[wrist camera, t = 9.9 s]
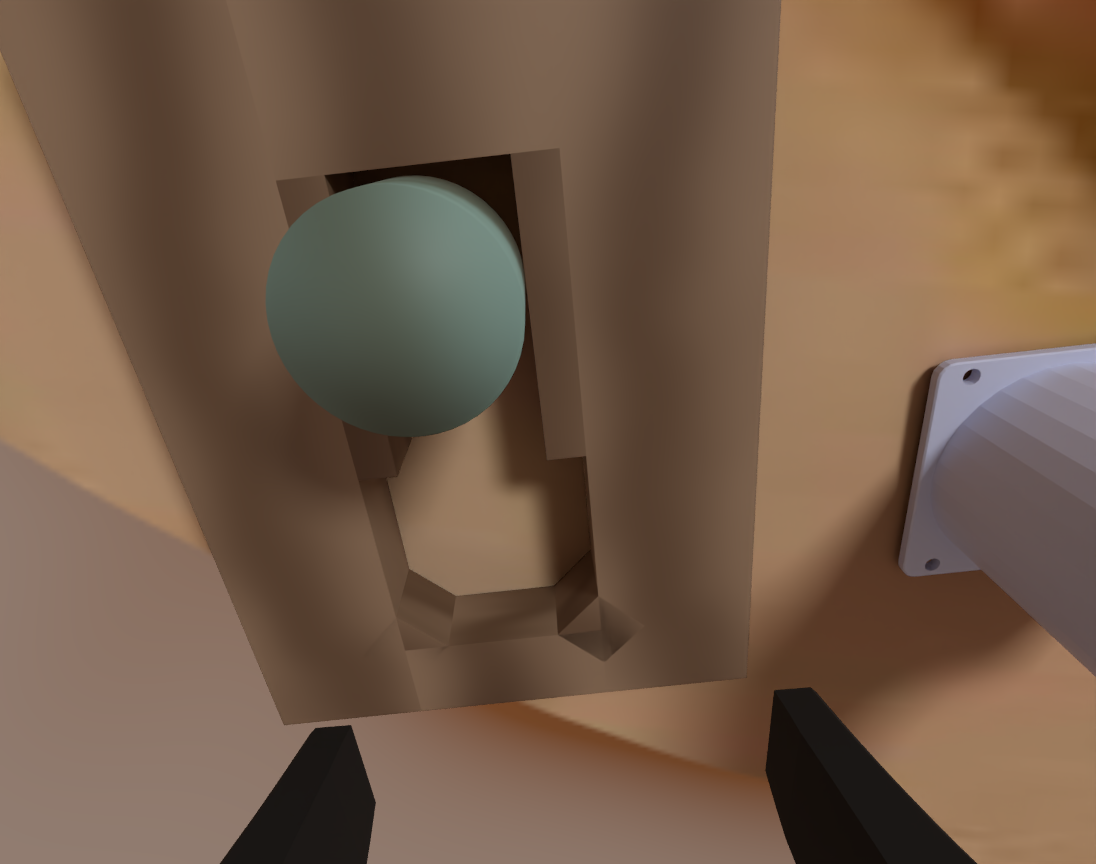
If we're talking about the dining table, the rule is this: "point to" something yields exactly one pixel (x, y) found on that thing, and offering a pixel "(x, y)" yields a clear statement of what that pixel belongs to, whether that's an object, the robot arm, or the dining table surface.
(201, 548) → the dining table surface
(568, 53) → the keyhole board
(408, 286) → the peg
